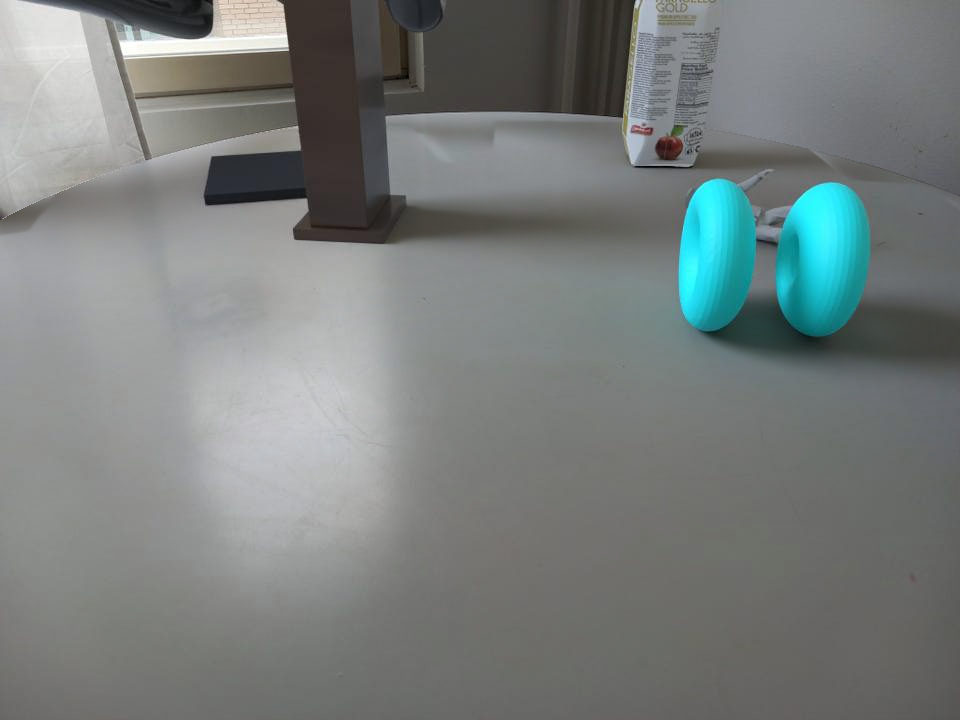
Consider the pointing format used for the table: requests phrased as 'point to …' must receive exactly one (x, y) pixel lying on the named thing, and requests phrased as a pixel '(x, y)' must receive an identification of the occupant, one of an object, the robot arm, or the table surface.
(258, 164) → the mat
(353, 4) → the plinth
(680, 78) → the juice carton
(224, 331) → the table surface
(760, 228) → the soldier figure
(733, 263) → the donuts
